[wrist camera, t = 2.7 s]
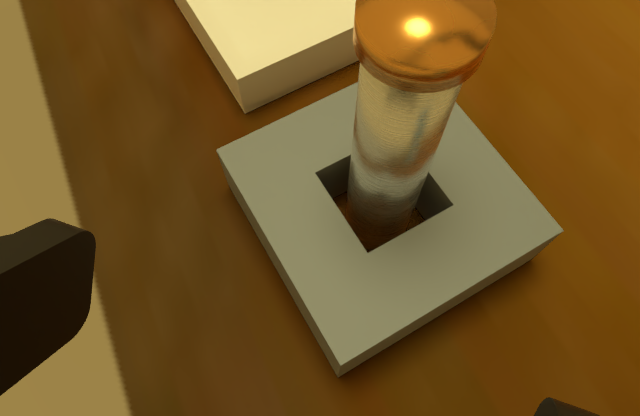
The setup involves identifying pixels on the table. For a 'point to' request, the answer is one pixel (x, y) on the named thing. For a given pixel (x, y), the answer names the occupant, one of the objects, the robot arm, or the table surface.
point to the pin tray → (272, 43)
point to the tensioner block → (394, 256)
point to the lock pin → (406, 101)
